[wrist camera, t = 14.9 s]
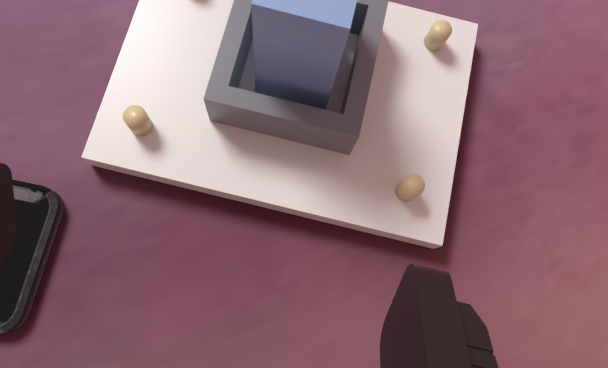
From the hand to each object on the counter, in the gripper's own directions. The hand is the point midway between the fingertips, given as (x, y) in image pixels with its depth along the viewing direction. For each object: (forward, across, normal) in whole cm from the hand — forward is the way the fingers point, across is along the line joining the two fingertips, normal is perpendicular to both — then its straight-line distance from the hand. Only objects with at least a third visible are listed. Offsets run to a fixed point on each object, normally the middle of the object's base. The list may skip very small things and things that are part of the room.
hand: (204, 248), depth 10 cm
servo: (+20, 0, +3) cm, 20 cm away
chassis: (+21, 0, +4) cm, 21 cm away
